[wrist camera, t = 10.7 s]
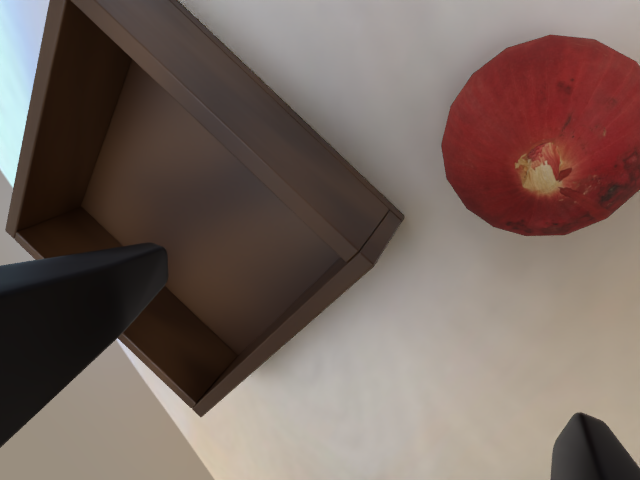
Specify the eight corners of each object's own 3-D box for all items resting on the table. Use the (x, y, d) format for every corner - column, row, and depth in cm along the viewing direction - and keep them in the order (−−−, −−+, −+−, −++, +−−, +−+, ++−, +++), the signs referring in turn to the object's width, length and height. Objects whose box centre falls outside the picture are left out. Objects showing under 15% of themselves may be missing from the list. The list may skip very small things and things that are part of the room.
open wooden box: (405, 216, 19) (374, 266, 15) (246, 362, 29) (200, 418, 25) (154, -22, 20) (55, -37, 15) (78, 202, 29) (4, 230, 25)
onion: (673, 93, 14) (815, 146, 7) (546, 219, 17) (564, 335, 10) (523, 4, 14) (528, -22, 8) (429, 142, 18) (376, 206, 11)
